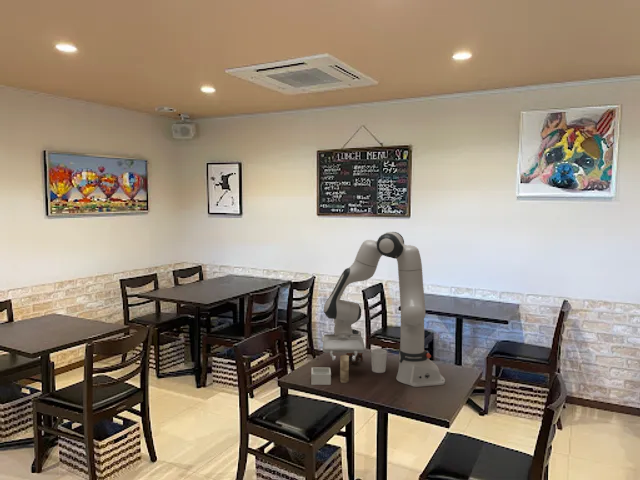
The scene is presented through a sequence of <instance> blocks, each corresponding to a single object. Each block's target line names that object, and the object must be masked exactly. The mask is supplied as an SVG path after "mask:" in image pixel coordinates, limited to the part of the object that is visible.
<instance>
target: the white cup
mask: <svg viewBox="0 0 640 480" xmlns="http://www.w3.org/2000/svg"><path fill="white" fill-rule="evenodd" d="M387 355H388V350H386V349H383V348H374V349H371V350H370V360H371V362H370V363H371V371H372V372H373V373H377V374H382V373H385V372H386V369H387V367H386V366H387Z"/></svg>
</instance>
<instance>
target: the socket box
mask: <svg viewBox="0 0 640 480" xmlns="http://www.w3.org/2000/svg"><path fill="white" fill-rule="evenodd" d="M310 368H311V373H310V374H311V376H310V377H311V380H310V382H311V383H310V384H311V386H330V385H331V384H332V377H331V376H332V372H331V367H310Z"/></svg>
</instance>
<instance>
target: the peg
mask: <svg viewBox="0 0 640 480" xmlns="http://www.w3.org/2000/svg"><path fill="white" fill-rule="evenodd" d="M339 358H340V359H339V361H340V362H339V364H340V365H339V368H340V369H339V382H340V383H342V384H343V383H344V384H346V383H347V384H348V383H349V381H350V380H349V379H350V376H349V374H350V373H349V372H350V371H349V370H350V367H349V366H350V364H349V356H348V355H346V354H341V355H340V357H339Z"/></svg>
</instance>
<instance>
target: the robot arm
mask: <svg viewBox="0 0 640 480" xmlns="http://www.w3.org/2000/svg"><path fill="white" fill-rule="evenodd" d="M382 256H384V257H386V258H387V257H388V258H392V259H396V263H397V270H398V271H397V273H398V286H399V287H398V288H399V301H400V303H399V304H400V341H399V342H400V344H399V351H398V362H399V363H398V370H397V371H398V372H397V373H396V377H395V378H396V380H397V381H398V382H399V383H402V384H404V385H409V386H411V387H413V388H419V387H431V386H443V385H445V384H446V378H445V377H444V376H443V375H442V374H441V372H440V368H439V367H438V365H437V364H436V363H434V362H433V361H432V360H430V358H432V355H431V354H430V353H429V352H428V351H427V350H425V318H426V312H427V311H426V303H425V292H424V291H425V289H424V279H423V275H424V274H423V265H422V258H421V254H420V251H419V248H417V247H416V246H414V245H411V244H409V245H408V244H405V239H404V237H403V236H402V234H400V233H399V232H396V231H387V232H385V233H383V234H381V235H380V236H379V237H378V238H377V240H373V239H366V240H364V241H363V242H362V243H361V245H360V246H359V249H358V251H357V252H356V256H355V258H354V261H353V263H352V264H351V265H350V266H349V267H347V268H345V269H344V270H343V272H342V273H341V274H340V277H339V279H338V280H337V281H336V284H335V286H334V287H333V290H332V292H331V294H330V295H329V297H328V298H327V299H326V301H325V303H324V306H323V313H324V315H325V316H326V318H328V319H332V320H333V323H334V324H333V325H334V327H333V333H331V334H330V333H329V334H327V333H326V334H324V335H323V336H322V337H321V342H322V352H323V353H325V354H329V355H330V357H331V359H332V361H333V362H336V355H334V354H346V353H354V356H353V355H352V362H353V361H355V358H356V356H357V353H363V354H364V352H365V350H366V349H365V341H364V338H363V337H362V332H361V330H358V329H355V328H352V325H353V324H355V323H357V322H358V321H359V320H360V319H362V308H361V305H360V304H359V303H357V302H353V301H348V300H344V299H341V298H342V296H343V294H344V292H345V290H346V288H347V287H348V286H349V285H351V284H353V283H357V282H363V281H367V280H369V279H371V278H372V277H373V276H374V275H375V272H376V270H377V268H378V266H379V262H380V259H381V258H382Z"/></svg>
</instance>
